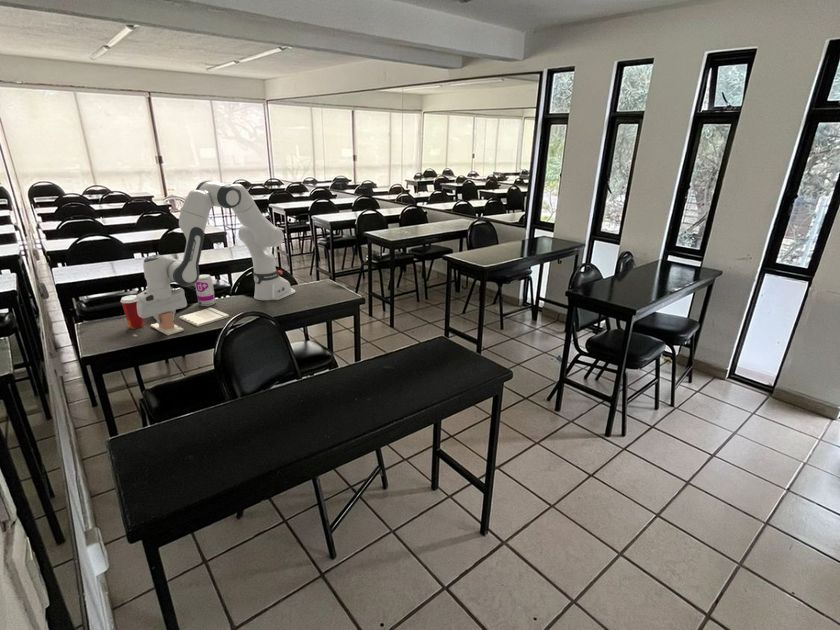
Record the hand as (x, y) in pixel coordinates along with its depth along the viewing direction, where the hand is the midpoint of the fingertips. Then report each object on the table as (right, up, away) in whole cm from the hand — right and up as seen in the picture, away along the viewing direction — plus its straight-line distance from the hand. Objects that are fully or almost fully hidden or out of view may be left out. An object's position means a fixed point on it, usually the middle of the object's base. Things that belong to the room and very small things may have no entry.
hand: (165, 321), depth 207 cm
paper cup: (-16, -2, +4) cm, 16 cm away
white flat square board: (+11, +2, +15) cm, 18 cm away
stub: (0, -3, +1) cm, 4 cm away
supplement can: (+4, +9, +32) cm, 34 cm away
